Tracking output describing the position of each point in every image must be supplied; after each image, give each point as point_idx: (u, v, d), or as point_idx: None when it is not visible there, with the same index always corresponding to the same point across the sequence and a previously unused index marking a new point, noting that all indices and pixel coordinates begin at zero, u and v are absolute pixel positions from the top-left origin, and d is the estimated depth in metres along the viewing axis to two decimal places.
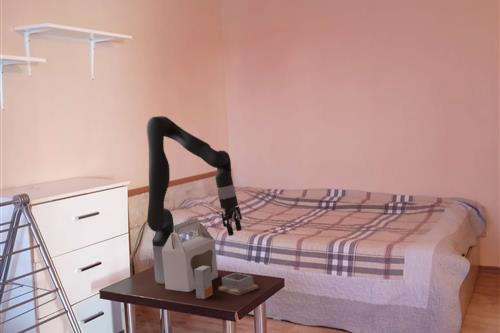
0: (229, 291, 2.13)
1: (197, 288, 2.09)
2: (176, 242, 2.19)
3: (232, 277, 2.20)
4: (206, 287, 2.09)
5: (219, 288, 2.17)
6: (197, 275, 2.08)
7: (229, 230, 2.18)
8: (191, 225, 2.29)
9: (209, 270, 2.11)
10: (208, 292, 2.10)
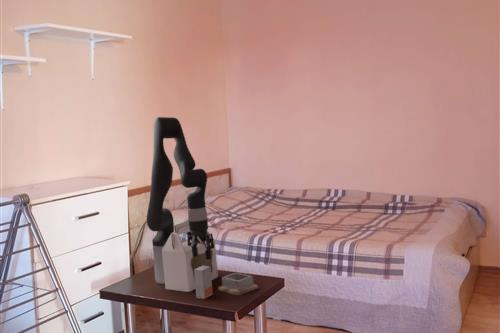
0: (229, 291, 2.13)
1: (197, 288, 2.09)
2: (176, 242, 2.19)
3: (232, 277, 2.20)
4: (206, 287, 2.09)
5: (219, 288, 2.17)
6: (197, 275, 2.08)
7: None
8: None
9: (209, 270, 2.11)
10: (208, 292, 2.10)
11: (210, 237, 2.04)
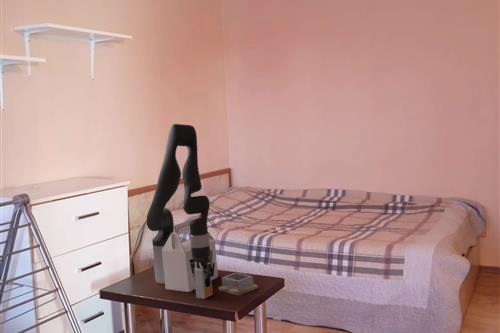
0: (229, 291, 2.13)
1: (197, 288, 2.09)
2: (176, 242, 2.19)
3: (232, 277, 2.20)
4: (206, 287, 2.09)
5: (219, 288, 2.17)
6: (197, 275, 2.08)
7: None
8: None
9: None
10: (208, 292, 2.10)
11: (212, 266, 2.05)
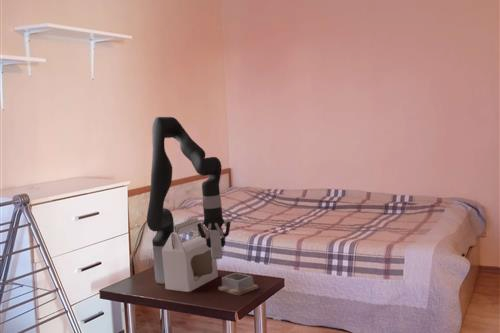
0: (229, 291, 2.13)
1: (214, 249, 2.09)
2: (176, 242, 2.19)
3: (232, 277, 2.20)
4: None
5: (219, 288, 2.17)
6: (214, 236, 2.08)
7: None
8: (191, 225, 2.29)
9: None
10: None
11: (229, 224, 2.10)
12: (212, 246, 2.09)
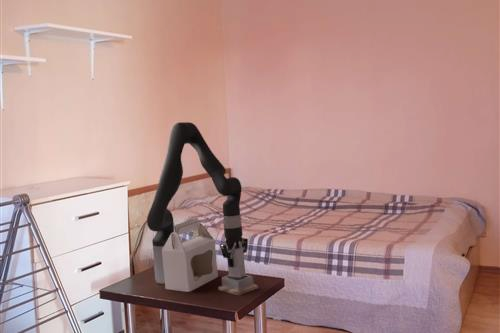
0: (229, 291, 2.13)
1: (240, 267, 2.14)
2: (176, 242, 2.19)
3: (232, 277, 2.20)
4: None
5: (219, 288, 2.17)
6: (240, 254, 2.14)
7: (229, 262, 2.13)
8: (191, 225, 2.29)
9: None
10: None
11: None
12: (239, 264, 2.13)
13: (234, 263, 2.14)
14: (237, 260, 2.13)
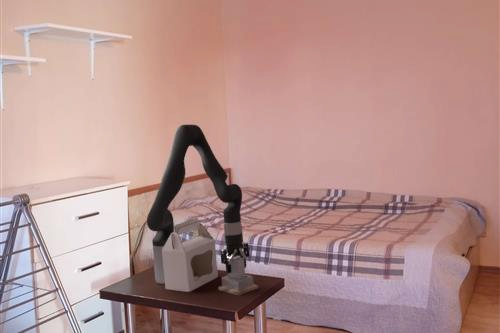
0: (229, 291, 2.13)
1: (241, 277, 2.14)
2: (176, 242, 2.19)
3: None
4: None
5: (219, 288, 2.17)
6: (240, 264, 2.14)
7: (227, 268, 2.12)
8: (191, 225, 2.29)
9: None
10: None
11: None
12: (240, 274, 2.13)
13: (234, 273, 2.14)
14: (237, 270, 2.13)
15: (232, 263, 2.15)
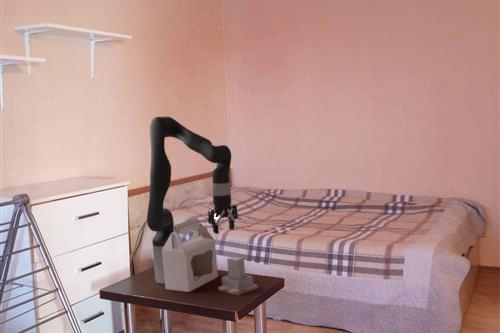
0: (229, 291, 2.13)
1: (241, 277, 2.14)
2: (176, 242, 2.19)
3: None
4: None
5: (219, 288, 2.17)
6: (240, 264, 2.14)
7: (214, 228, 2.12)
8: (191, 225, 2.29)
9: None
10: None
11: None
12: (240, 274, 2.13)
13: (234, 273, 2.14)
14: (237, 270, 2.13)
15: (232, 263, 2.15)
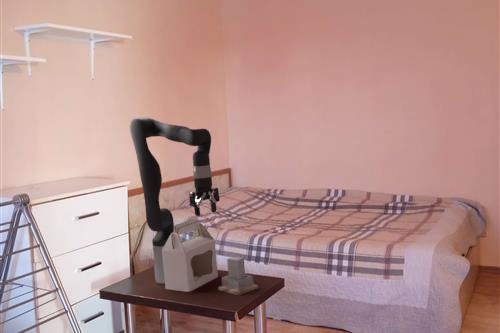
0: (229, 291, 2.13)
1: (241, 277, 2.14)
2: (176, 242, 2.19)
3: None
4: None
5: (219, 288, 2.17)
6: (240, 264, 2.14)
7: (195, 210, 2.15)
8: (191, 225, 2.29)
9: None
10: None
11: None
12: (240, 274, 2.13)
13: (234, 273, 2.14)
14: (237, 270, 2.13)
15: (232, 263, 2.15)
